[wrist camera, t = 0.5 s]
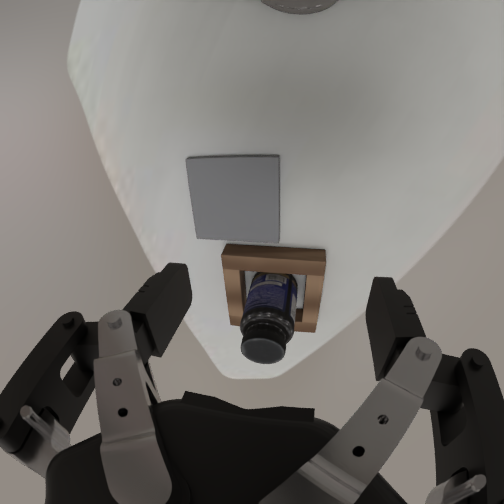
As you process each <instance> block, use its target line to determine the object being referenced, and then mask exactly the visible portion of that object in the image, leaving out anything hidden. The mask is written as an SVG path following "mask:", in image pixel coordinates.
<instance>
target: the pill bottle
mask: <svg viewBox="0 0 504 504" xmlns="http://www.w3.org/2000/svg"><path fill="white" fill-rule="evenodd" d="M296 302H297V283H296V281H295V279H294V278H293V277H292V276H291V275H290V274H284V273H270V272H259V273H257V274H256V275H255V276H254V278H253V280H252V282H251V286H250V290H249V294H248V297H247V301H246V304H245V308H244V312H243V315H242V319H241V322H240V330H241V333H242V335H243V339H242V344H241V352H242V354H243V355H244V356H245V357H246V358H248V359H249V360H251V361H254V362H256V363H261V364H272V363H276V362H278V361H280V360H281V359H282V358H283V357H284V355H285V350H286V344H287V343H288V342H289V341H290V340H291V338H292V336H293V334H294V326H295V314H296Z"/></svg>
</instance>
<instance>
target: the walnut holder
mask: <svg viewBox="0 0 504 504" xmlns="http://www.w3.org/2000/svg"><path fill="white" fill-rule="evenodd" d="M221 258H222V266H223V274H224V281H225V289H226V296H227V303H228V310H229V317H230V324H231V325H235V326H240V322H241V319H242V315H243V312H244V308H245V304H246V301H247V299H246V286H245V273H244V271H256V272H270V273H284V274H299V275H306V284H305V294H304V304H303V309H296V314H295V326H294V331H298V332H313V333H315V330H316V325H317V319H318V313H319V307H320V301H321V294H322V288H323V281H324V274H325V266H326V254H325V250H320V249H304V248H288V247H271V246H254V245H237V244H226V246H225V248H224V250H223V252H222V254H221Z"/></svg>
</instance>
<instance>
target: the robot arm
mask: <svg viewBox="0 0 504 504" xmlns="http://www.w3.org/2000/svg"><path fill="white" fill-rule="evenodd" d="M261 1H262V2H263V3H265V4H267V5H268V6H270V7H272V8H274V9H277V10H279V11H283V12H287V13H294V14H310V13H315V12H319V11H322V10H324V9H327V8H329V7H330V6H332V5H333V4H335V3H336V2H337V0H261ZM191 302H192V290H191V284H190V278H189V273H188V268H187V265H186V264H182V263H168V264H167V265H166V266H165V268H164V269H163V270H162V271H161V272H158V273H156V274H155V275H153V276H152V277H150V278H149V279H148V280H147V281H146V282H145V283H144V285H143V286H142V287H141V288H140V289H139V292H137V293H136V294H135V295H134V296H133V298H132V299H131V300H130V301H129V303H128V304H127V305H126V306H125V307H124V309H123V310H114V311H111V312H108V313H106V314H105V315H104V316H103V317H101V319H100V320H99V322H85V320H84V318H83V316H82V314H81V313H79V312H68V313H66V314H64V315H62V316H61V317H60V318H59V319H58V320H57V321H56V322H55V323H54V324H53V326H52V327H51V328H50V329H49V330H48V332H47V333H46V334H45V335H44V336H43V338H42V339H41V340H40V341H39V343H38V344H37V345H36V346H35V348H34V349H33V350H32V351H31V353H30V354H29V355H28V357H27V358H26V359H25V361H24V362H23V363H22V365H21V366H20V367H19V369H18V370H17V371H16V373H15V374H14V375H13V377H12V378H11V380H10V381H9V382H8V384H7V385H6V387H5V388H4V390H3V391H2V393H1V394H0V447H1V448H2V449H3V450H4V451H5V452H6V453H7V454H9V455H10V456H11V457H13V458H14V459H16V460H17V461H19V462H20V463H21V464H23V465H24V466H27V467H28V468H30V469H32V470H33V471H35V472H36V473H38V474H39V475H41V476H42V477H43V478H45V479H46V499H45V504H407V503H406V502H405V501H404V499H403V498H402V497H401V496H400V495H399V494H398V493H397V492H396V491H395V490H394V489H393V488H392V487H391V485H390V484H389V483H388V482H387V481H386V480H385V479H384V478H383V477H382V476H381V475H380V473H379V470H380V469H381V468H382V466H383V465H384V464H385V462H386V461H387V459H388V458H389V457H390V455H391V454H392V452H393V451H394V449H395V448H396V446H397V445H398V443H399V442H400V440H401V439H402V437H403V436H404V434H405V433H406V431H407V429H408V428H409V426H410V424H411V423H412V421H413V419H414V417H415V416H416V414H417V412H418V410H419V409H420V408H423V409H428V410H430V413H431V420H432V428H433V437H434V448H435V461H436V487H435V488H434V489H433V490H432V491H431V492H430V493H429V495H428V497H427V499H426V503H425V504H504V399H503V396H502V393H501V390H500V387H499V384H498V381H497V378H496V375H495V372H494V370H493V367H492V365H491V362H490V360H489V358H488V357H487V356H486V354H484V353H483V352H482V351H480V350H478V349H474V348H473V349H472V348H471V349H467V350H465V351H464V352H463V354H462V356H461V357H460V358H458V357H454V356H449V355H445V354H442V351H441V349H440V347H439V346H438V344H437V343H436V342H434V341H433V340H431V339H429V338H426V335H425V333H424V330H423V328H422V325H421V322H420V320H419V318H418V315H417V314H416V310H415V308H414V307H413V306H414V305H413V303H412V301H411V299H410V297H409V296H408V295H407V294H406V293H405V292H404V291H403V290H397V288H396V285H395V283H394V280H393V278H391V277H374V279H373V283H372V287H371V291H370V295H369V299H368V303H367V307H366V323H367V329H368V333H369V339H370V345H371V351H372V357H373V362H374V370H375V376H376V381H380V382H379V383H378V384H377V386H376V387H375V388H374V390H373V391H372V392H371V394H370V395H369V396H368V397H367V399H366V400H365V401H364V403H363V404H362V405H361V406H360V407H359V409H358V410H357V411H356V412H355V413H354V415H353V416H352V417H351V418H350V419H349V420H348V422H347V423H346V424H345V425H344V426H343V427H342V429H338V428H337V427H335V426H334V425H332V424H330V423H328V422H326V421H324V420H321V419H318V418H315V417H314V410H315V409H313V408H296V407H284V406H280V407H271V408H260V409H243V408H240V407H238V406H235V405H233V404H230V403H228V402H226V401H223V400H221V399H218V398H216V397H212V396H207V395H202V394H197V393H193V392H188V391H185V393H184V395H183V398H182V399H175V400H167V401H163V402H162V401H161V399H160V396H159V393H158V390H157V387H156V384H155V380H154V377H153V373H152V370H151V366H150V363H149V361H148V359H149V358H150V356H151V355H152V356H157V357H162V355H163V353H164V352H165V350H166V348H167V346H168V344H169V342H170V341H171V339H172V337H173V335H174V334H175V332H176V330H177V328H178V327H179V325H180V323H181V321H182V320H183V318H184V316H185V314H186V313H187V311H188V309H189V307H190V305H191ZM70 355H71V357H72V358H73V360H74V361H75V362H74V364H73V365H72V367H71V368H70V370H69V371H68V373H67V374H66V376H65V377H64V379H63V380H62V379H61V377H60V370H61V368H62V366H63V365H64V363H65V362H66V360H67V359H68V357H69V356H70ZM94 388H95V389H96V399H97V408H98V415H99V422H100V428H101V433H99V434H96V435H95V436H93V437H90V438H88V439H86V440H84V441H82V442H79V443H77V444H75V445H73V446H71V444H70V435H69V434H70V433H71V431H72V429H73V427H74V425H75V423H76V421H77V419H78V417H79V415H80V414H81V412H82V410H83V408H84V406H85V404H86V402H87V401H88V399H89V397H90V396H91V394H92V392H93V390H94Z"/></svg>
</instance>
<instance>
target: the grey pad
mask: <svg viewBox="0 0 504 504" xmlns="http://www.w3.org/2000/svg"><path fill="white" fill-rule="evenodd" d="M185 160H186V168H187V175H188V183H189V190H190V197H191V204H192V211H193V217H194V224H195V230H196V236H197V239H211V240H230V241H248V242H266V243H279V225H280V192H279V156H210V157H190V158H187V159H185Z"/></svg>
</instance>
